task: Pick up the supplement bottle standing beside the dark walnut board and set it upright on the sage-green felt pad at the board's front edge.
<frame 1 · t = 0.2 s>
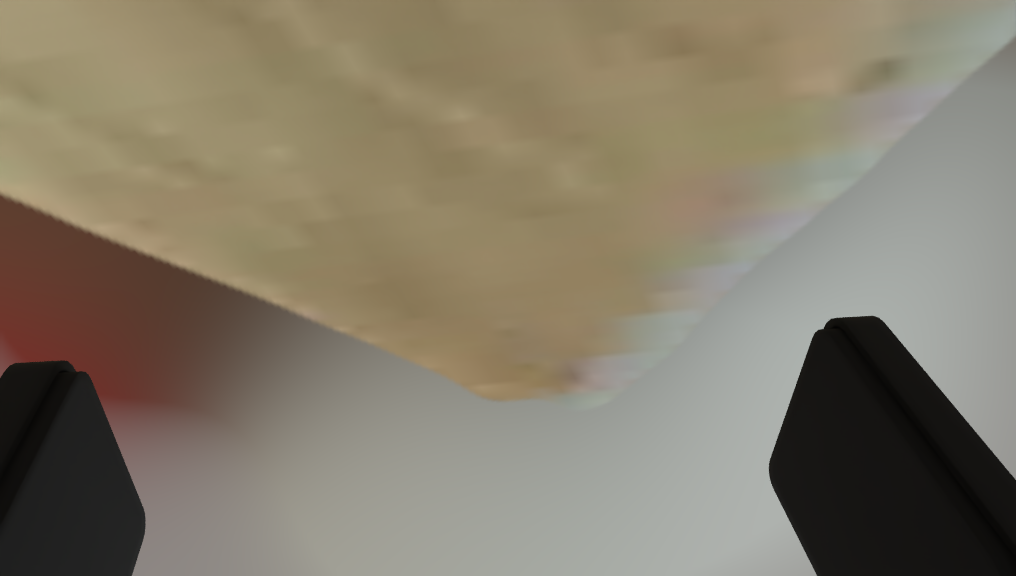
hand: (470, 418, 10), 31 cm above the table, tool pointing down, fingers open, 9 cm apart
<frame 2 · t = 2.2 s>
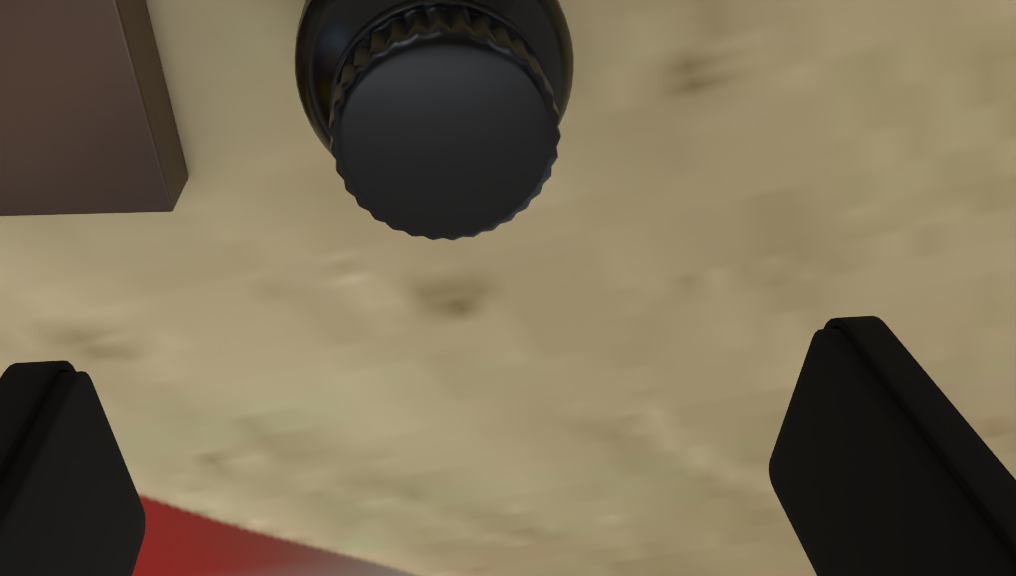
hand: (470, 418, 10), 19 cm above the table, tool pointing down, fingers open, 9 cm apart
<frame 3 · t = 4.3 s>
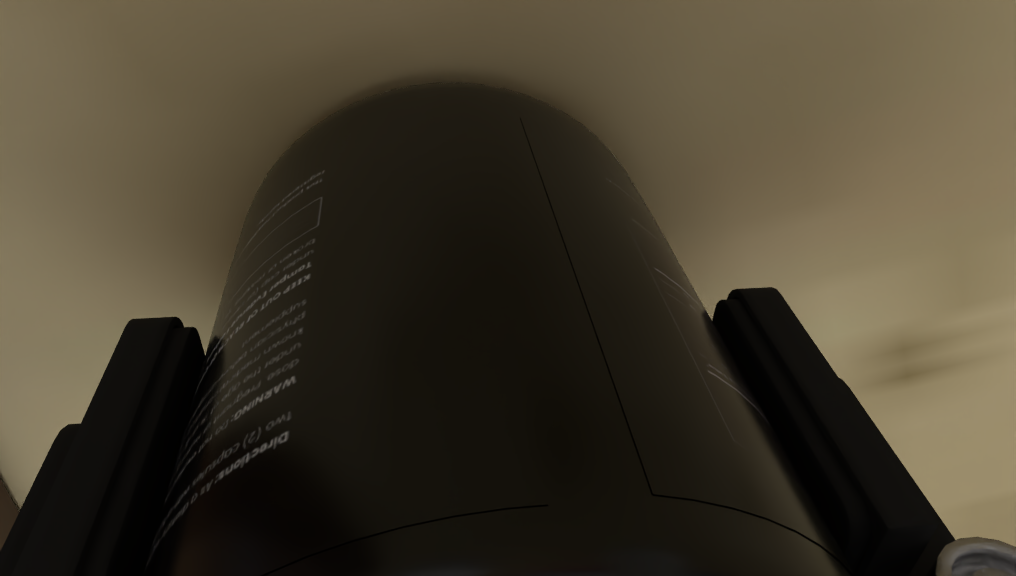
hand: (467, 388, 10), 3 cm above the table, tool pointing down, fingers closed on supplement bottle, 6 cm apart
supplement bottle: (452, 252, 13), on the table, touching gripper
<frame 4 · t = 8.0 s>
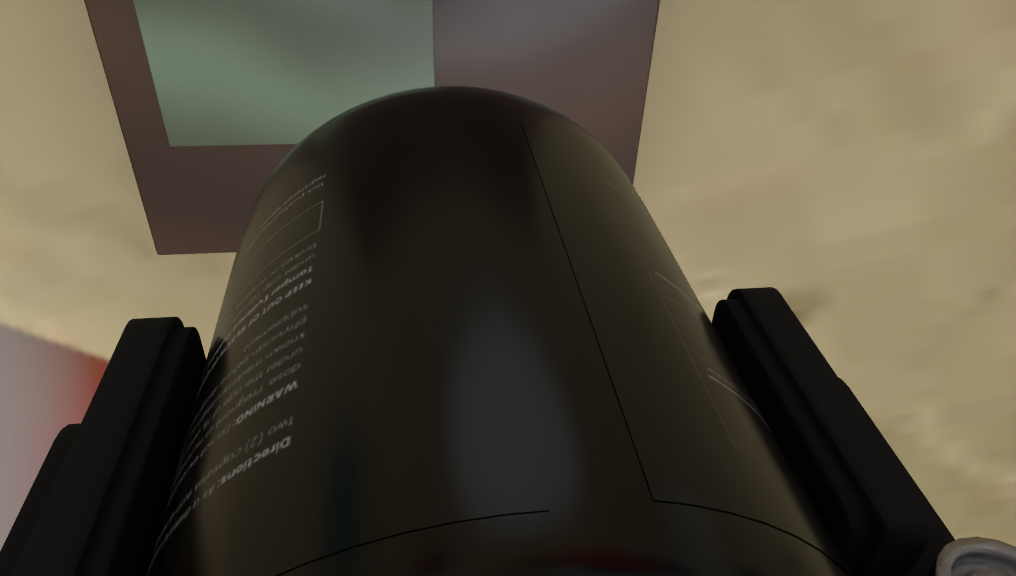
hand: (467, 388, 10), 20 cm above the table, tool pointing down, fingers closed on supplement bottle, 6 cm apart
supplement bottle: (452, 254, 13), point 16 cm above the table, touching gripper
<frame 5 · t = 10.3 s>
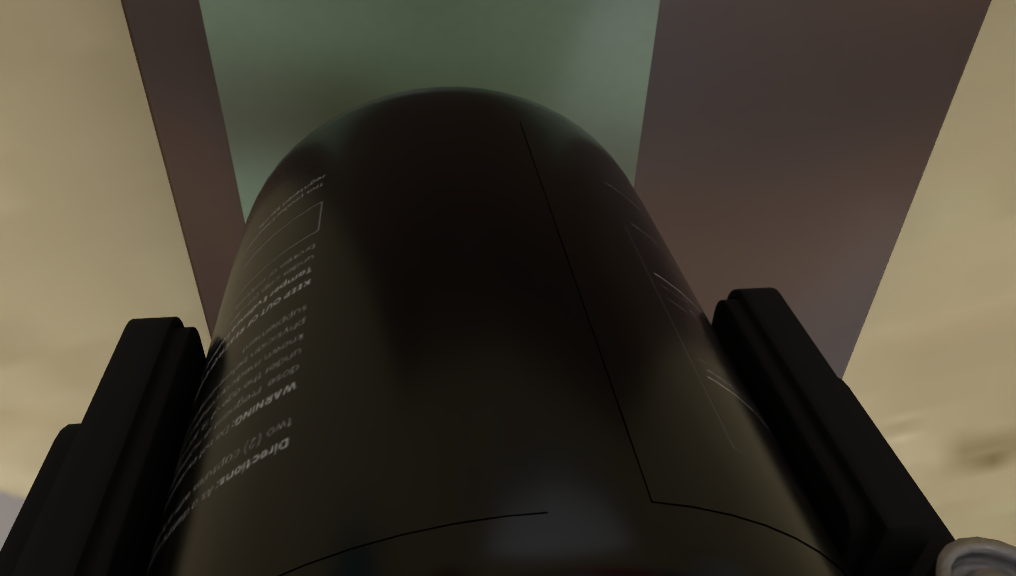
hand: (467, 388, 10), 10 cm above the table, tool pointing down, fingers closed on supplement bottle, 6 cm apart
supplement bottle: (452, 255, 13), point 7 cm above the table, touching gripper
walnut board: (560, 20, 18), on the table
when the fingers open (6 cm above the table, at t = 12.0 s): supplement bottle stays where it is, resting on walnut board.
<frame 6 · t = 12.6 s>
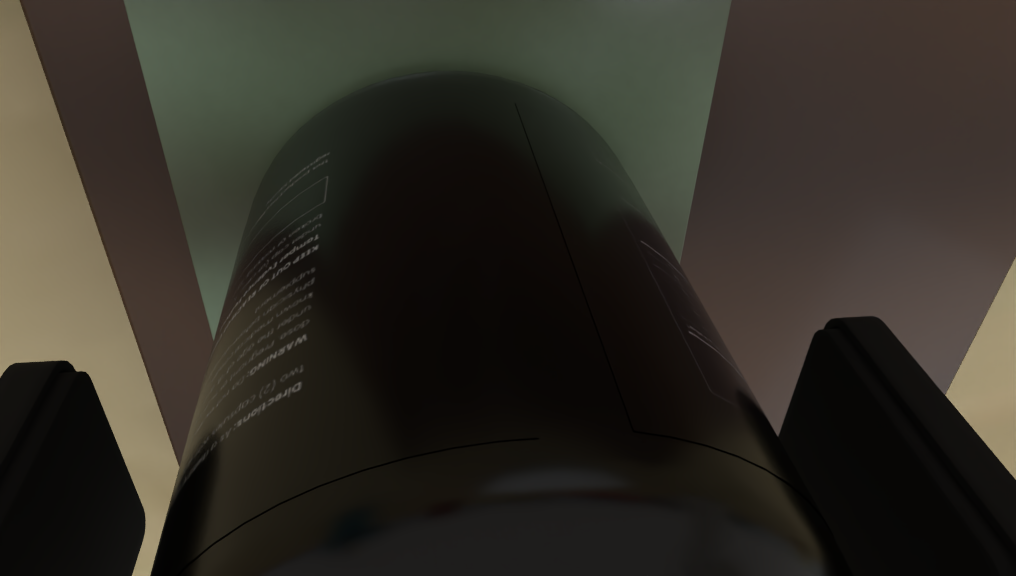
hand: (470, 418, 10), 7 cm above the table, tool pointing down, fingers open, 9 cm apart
supplement bottle: (450, 236, 14), point 3 cm above the table, touching walnut board
walnut board: (588, 78, 15), on the table
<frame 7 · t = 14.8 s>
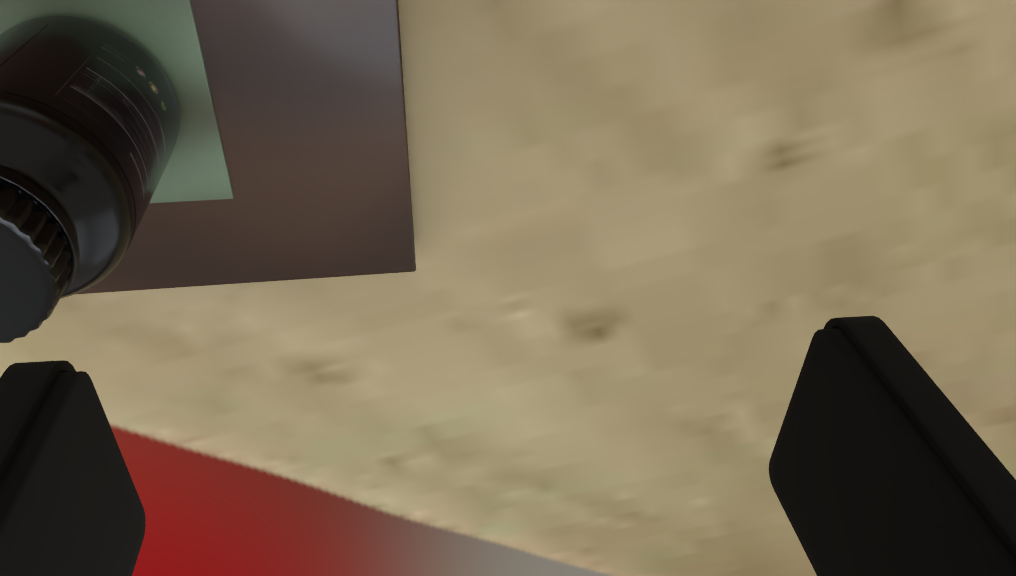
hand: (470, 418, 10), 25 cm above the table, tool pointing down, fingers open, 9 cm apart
supplement bottle: (92, 99, 29), point 3 cm above the table, touching walnut board
walnut board: (173, 26, 30), on the table
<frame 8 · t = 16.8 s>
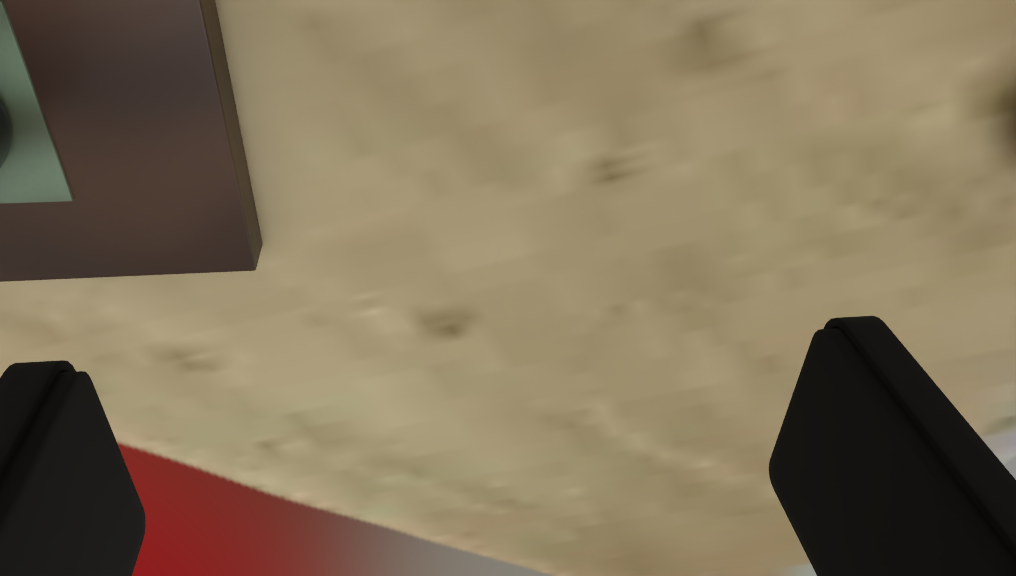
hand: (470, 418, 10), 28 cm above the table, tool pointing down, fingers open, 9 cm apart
walnut board: (11, 42, 33), on the table
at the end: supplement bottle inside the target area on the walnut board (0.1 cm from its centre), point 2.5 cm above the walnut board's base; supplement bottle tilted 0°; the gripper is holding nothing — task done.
